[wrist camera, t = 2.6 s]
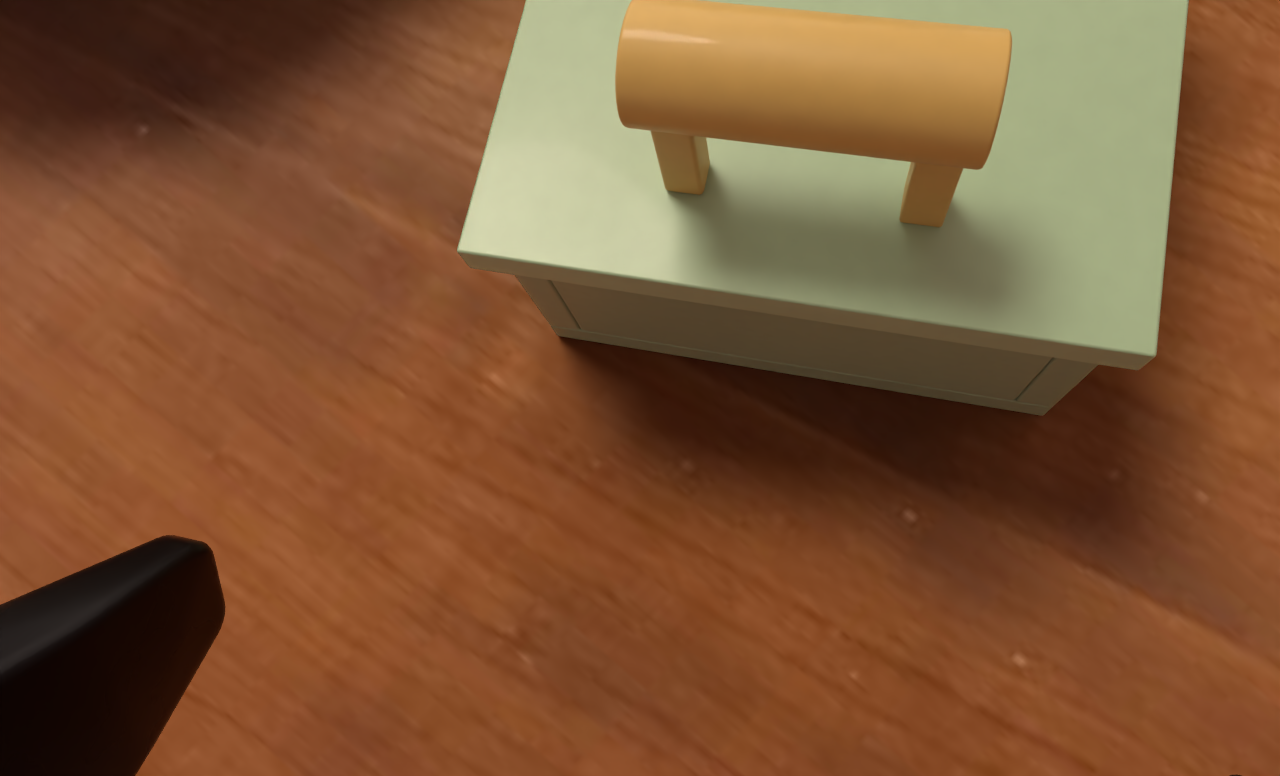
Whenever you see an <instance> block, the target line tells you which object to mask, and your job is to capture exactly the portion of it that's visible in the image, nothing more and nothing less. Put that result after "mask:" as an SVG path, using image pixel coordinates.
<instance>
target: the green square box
mask: <svg viewBox="0 0 1280 776" xmlns="http://www.w3.org/2000/svg"><path fill="white" fill-rule="evenodd" d="M515 276H516V277H517V279H518V280H519V282H520V283H521V285H522V286H523V287H524V289H525V290H526V292H527V293H528V294H529V296H530V297H531V299H532V300H533V301H534V303H535V304H536V306H537V307H538V309H539V310H540V311H541V313H542V314H543V316H544V317H545V318H546V320H547V321H548V323H549V324H550V325H551V327H552V328H553V330H554V331H555V333H556V334H557V335H558V336H562V337H568V338H574V339H580V340H586V341H592V342H598V343H604V344H610V345H616V346H622V347H629V348H635V349H641V350H647V351H653V352H659V353H665V354H671V355H677V356H683V357H689V358H695V359H701V360H707V361H713V362H719V363H726V364H732V365H738V366H744V367H750V368H756V369H762V370H768V371H774V372H780V373H786V374H792V375H798V376H804V377H810V378H816V379H823V380H829V381H835V382H841V383H847V384H853V385H859V386H865V387H871V388H877V389H883V390H889V391H895V392H901V393H907V394H913V395H920V396H926V397H932V398H938V399H944V400H950V401H956V402H962V403H968V404H974V405H980V406H986V407H992V408H998V409H1004V410H1010V411H1017V412H1023V413H1029V414H1035V415H1041V416H1042V415H1044V414H1045V413H1047V412H1048V411H1049V410H1050V409H1051V408H1052V407H1053V406H1054V405H1055V404H1056V403H1057V402H1059V401H1060V400H1061V399H1062V398H1063V397H1064V396H1065V395H1066V394H1067V393H1068V392H1069V391H1070V390H1072V389H1073V388H1074V387H1075V386H1076V385H1077V384H1078V383H1079V382H1080V381H1081V380H1082V379H1083V378H1085V377H1086V376H1087V375H1088V374H1089V373H1090V372H1091V371H1092V370H1093V369H1094V368H1095V367H1096V366H1098V365H1099V364H1093V363H1086V362H1080V361H1073V360H1067V359H1060V358H1054V357H1047V356H1041V355H1034V354H1028V353H1021V352H1015V351H1008V350H1002V349H995V348H989V347H982V346H975V345H969V344H962V343H956V342H949V341H943V340H936V339H930V338H923V337H917V336H910V335H904V334H897V333H891V332H884V331H878V330H871V329H865V328H858V327H852V326H845V325H839V324H832V323H826V322H819V321H813V320H806V319H800V318H793V317H787V316H780V315H774V314H767V313H761V312H754V311H748V310H741V309H735V308H728V307H722V306H715V305H709V304H702V303H696V302H689V301H682V300H676V299H669V298H663V297H656V296H650V295H643V294H637V293H630V292H624V291H617V290H611V289H604V288H598V287H591V286H585V285H578V284H572V283H565V282H559V281H552V280H546V279H539V278H533V277H526V276H520V275H515Z"/></svg>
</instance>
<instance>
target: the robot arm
mask: <svg viewBox="0 0 1280 776" xmlns="http://www.w3.org/2000/svg"><path fill="white" fill-rule="evenodd" d="M224 615H225V601H224V597H223V593H222V588H221V584H220V580H219V575H218V571H217V567H216V562H215V558H214V554H213V551H212V550H211V548H210V547H209V546H208V545H207V544H206V543H204V542H202V541H197V540H193V539H188V538H184V537H179V536H175V535H166V536H162V537H159V538H156V539H154V540H152V541H149V542H147V543H144V544H142V545H140V546H137V547H135V548H133V549H130V550H128V551H126V552H123V553H121V554H119V555H116V556H114V557H112V558H109V559H107V560H105V561H102V562H100V563H97V564H95V565H93V566H90V567H88V568H86V569H83V570H81V571H79V572H76V573H74V574H72V575H69V576H67V577H65V578H62V579H60V580H58V581H55V582H53V583H51V584H48V585H46V586H43V587H41V588H39V589H36V590H34V591H32V592H29V593H27V594H25V595H22V596H20V597H18V598H15V599H13V600H11V601H8V602H6V603H3V604H1V605H0V776H135V775H136V773H137V772H138V770H139V769H140V767H141V765H142V764H143V762H144V761H145V759H146V757H147V756H148V754H149V752H150V751H151V749H152V748H153V746H154V744H155V742H156V741H157V739H158V737H159V735H160V734H161V732H162V730H163V729H164V727H165V725H166V723H167V722H168V720H169V718H170V716H171V715H172V713H173V711H174V709H175V708H176V706H177V704H178V702H179V701H180V699H181V697H182V696H183V694H184V692H185V690H186V689H187V687H188V685H189V683H190V682H191V680H192V678H193V676H194V675H195V673H196V671H197V669H198V668H199V666H200V664H201V662H202V661H203V659H204V657H205V656H206V654H207V652H208V650H209V649H210V647H211V645H212V643H213V642H214V640H215V638H216V636H217V635H218V633H219V631H220V629H221V626H222V623H223V620H224ZM1230 776H1241V775H1230Z"/></svg>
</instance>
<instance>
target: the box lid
mask: <svg viewBox="0 0 1280 776" xmlns="http://www.w3.org/2000/svg"><path fill="white" fill-rule="evenodd" d="M1188 2H1189V0H526V3H525V6H524V10H523V14H522V17H521V21H520V24H519V28H518V32H517V35H516V39H515V42H514V46H513V50H512V53H511V57H510V61H509V64H508V68H507V71H506V75H505V79H504V82H503V86H502V89H501V93H500V97H499V100H498V104H497V107H496V111H495V115H494V118H493V122H492V126H491V129H490V133H489V136H488V140H487V144H486V147H485V151H484V154H483V158H482V162H481V165H480V169H479V172H478V176H477V180H476V183H475V187H474V191H473V194H472V198H471V201H470V205H469V209H468V212H467V216H466V219H465V223H464V227H463V230H462V234H461V238H460V241H459V245H458V248H457V252H458V253H459V255H460V256H461V257H462V258H463V259H464V261H465V262H466V263H467V264H468V266H469V267H470V268H474V269H481V270H487V271H494V272H500V273H507V274H513V275H520V276H526V277H533V278H539V279H546V280H552V281H559V282H565V283H572V284H578V285H585V286H591V287H598V288H604V289H611V290H617V291H624V292H630V293H637V294H643V295H650V296H656V297H663V298H669V299H676V300H682V301H689V302H696V303H702V304H709V305H715V306H722V307H728V308H735V309H741V310H748V311H754V312H761V313H767V314H774V315H780V316H787V317H793V318H800V319H806V320H813V321H819V322H826V323H832V324H839V325H845V326H852V327H858V328H865V329H871V330H878V331H884V332H891V333H897V334H904V335H910V336H917V337H923V338H930V339H936V340H943V341H949V342H956V343H962V344H969V345H975V346H982V347H989V348H995V349H1002V350H1008V351H1015V352H1021V353H1028V354H1034V355H1041V356H1047V357H1054V358H1060V359H1067V360H1073V361H1080V362H1086V363H1093V364H1099V365H1106V366H1112V367H1119V368H1125V369H1132V370H1140V369H1141V368H1142V367H1143V366H1145V365H1146V364H1147V363H1148V362H1150V361H1151V360H1152V359H1153V358H1155V356H1156V353H1157V342H1158V331H1159V321H1160V310H1161V299H1162V288H1163V277H1164V266H1165V255H1166V244H1167V233H1168V222H1169V211H1170V200H1171V189H1172V178H1173V167H1174V156H1175V145H1176V134H1177V123H1178V112H1179V101H1180V90H1181V79H1182V68H1183V57H1184V46H1185V35H1186V24H1187V13H1188Z"/></svg>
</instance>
